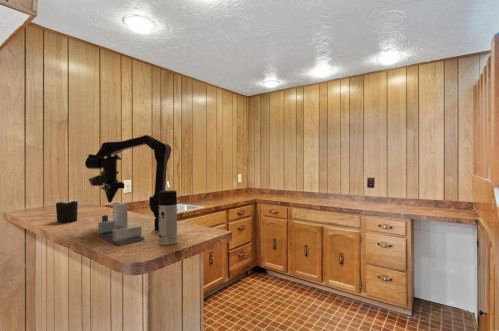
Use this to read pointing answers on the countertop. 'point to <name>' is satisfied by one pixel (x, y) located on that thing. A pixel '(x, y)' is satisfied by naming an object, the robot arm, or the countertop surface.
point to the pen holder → (66, 212)
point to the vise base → (110, 238)
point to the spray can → (167, 217)
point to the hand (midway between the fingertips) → (109, 202)
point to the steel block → (120, 215)
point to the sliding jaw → (105, 225)
